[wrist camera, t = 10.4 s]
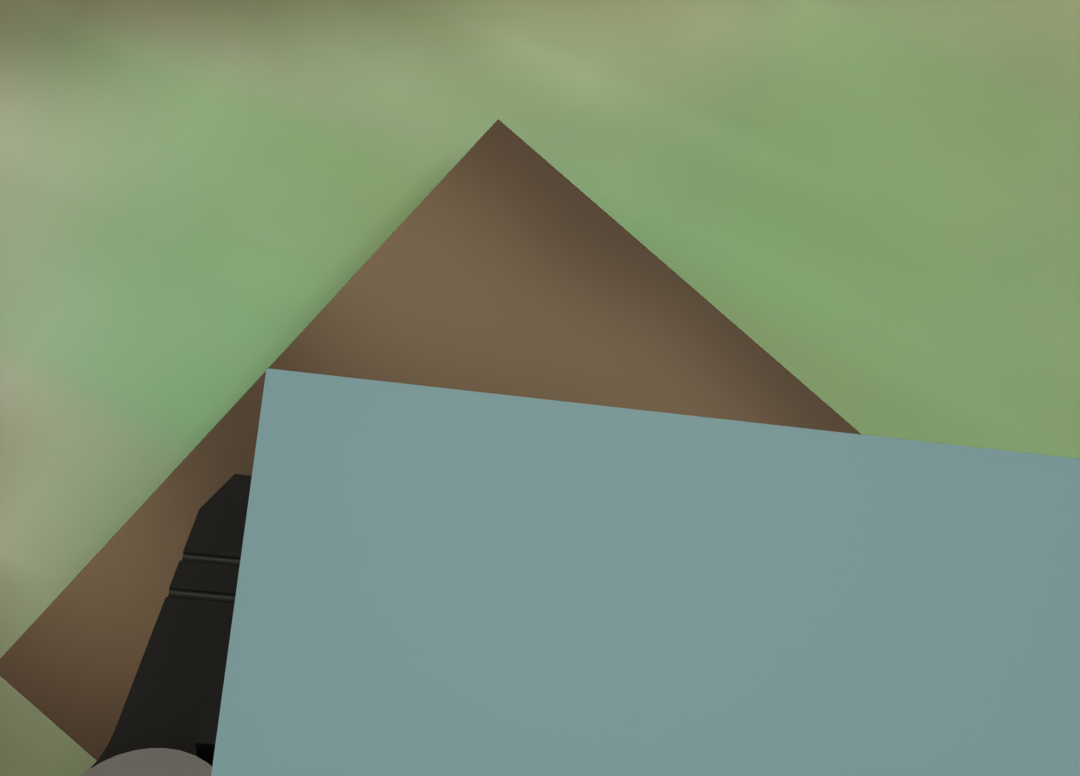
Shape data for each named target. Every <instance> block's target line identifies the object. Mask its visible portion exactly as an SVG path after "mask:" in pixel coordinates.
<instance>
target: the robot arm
mask: <svg viewBox="0 0 1080 776" xmlns="http://www.w3.org/2000/svg"><path fill="white" fill-rule="evenodd" d="M251 479H252V476H251V475H241V474H234V475H233V476H232V477H231V478H230V479H229V480H228V481H227V482H226V483H225V484H224V485H223V486H222V487H221V488H220V489H219V490H218V491H217V492H216V493H215V494H214V495H213V496H212V497H211V498H210V499H209V500H208V501H207V502H206V503H205V504H204V505H203V506H202V507H201V508H200V509H199V511H198V514H197V516H196V519H195V522H194V524H193V527H192V529H191V532H190V535H189V537H188V540H187V542H186V545H185V548H184V550H183V557H182V561H179V563H178V566H177V569H176V571H175V574H174V576H173V579H172V582H171V584H170V587H169V595H168V597H165V600H164V603H163V605H162V608H161V610H160V613H159V616H158V618H157V621H156V623H155V626H154V629H153V631H152V634H151V637H150V639H149V642H148V644H147V647H146V650H145V652H144V655H143V657H142V660H141V663H140V665H139V668H138V670H137V673H136V676H135V678H134V681H133V684H132V686H131V689H130V691H129V694H128V697H127V699H126V702H125V704H124V707H123V710H122V712H121V715H120V718H119V720H118V723H117V725H116V728H115V731H114V733H113V735H112V737H111V739H110V741H109V743H108V745H107V747H106V749H105V750H104V752H103V753H102V755H101V756H100V758H99V759H98V760H97V762H96V763H95V764H94V765H93V766H92V767H91V768H90V769H89V770H88V771H86V772H85V773H83V774H82V775H81V776H211V773H212V766H213V758H214V751H215V744H216V736H217V729H218V722H219V714H220V707H221V700H222V692H223V685H224V677H225V670H226V663H227V655H228V648H229V641H230V633H231V626H232V619H233V611H234V604H235V596H236V589H237V582H238V574H239V567H240V560H241V552H242V545H243V537H244V530H245V523H246V515H247V508H248V501H249V493H250V486H251Z"/></svg>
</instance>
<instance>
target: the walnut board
mask: <svg viewBox="0 0 1080 776" xmlns="http://www.w3.org/2000/svg"><path fill="white" fill-rule="evenodd" d="M269 369H277V370H286V371H295V372H304V373H313V374H322V375H331V376H340V377H349V378H358V379H367V380H376V381H385V382H394V383H403V384H412V385H421V386H430V387H439V388H448V389H457V390H466V391H475V392H484V393H493V394H502V395H511V396H519V397H528V398H537V399H546V400H555V401H564V402H573V403H582V404H591V405H600V406H609V407H618V408H627V409H636V410H645V411H654V412H663V413H672V414H681V415H690V416H699V417H708V418H717V419H726V420H735V421H744V422H753V423H761V424H770V425H779V426H788V427H797V428H806V429H815V430H824V431H833V432H842V433H851V434H860V433H859V432H858V431H857V430H856V429H855V428H853V427H852V426H851V425H850V424H849V423H848V422H846V421H845V420H844V419H843V418H842V417H841V416H840V415H838V414H837V413H836V412H835V411H834V410H833V409H832V408H830V407H829V406H828V405H827V404H826V403H825V402H823V401H822V400H821V399H820V398H819V397H818V396H817V395H815V394H814V393H813V392H812V391H811V390H810V389H808V388H807V387H806V386H805V385H804V384H803V383H802V382H800V381H799V380H798V379H797V378H796V377H795V376H793V375H792V374H791V373H790V372H789V371H788V370H787V369H785V368H784V367H783V366H782V365H781V364H780V363H779V362H777V361H776V360H775V359H774V358H773V357H772V356H770V355H769V354H768V353H767V352H766V351H765V350H764V349H762V348H761V347H760V346H759V345H758V344H757V343H755V342H754V341H753V340H752V339H751V338H750V337H749V336H747V335H746V334H745V333H744V332H743V331H742V330H740V329H739V328H738V327H737V326H736V325H735V324H734V323H732V322H731V321H730V320H729V319H728V318H727V317H725V316H724V315H723V314H722V313H721V312H720V311H719V310H717V309H716V308H715V307H714V306H713V305H712V304H711V303H709V302H708V301H707V300H706V299H705V298H704V297H702V296H701V295H700V294H699V293H698V292H697V291H696V290H694V289H693V288H692V287H691V286H690V285H689V284H687V283H686V282H685V281H684V280H683V279H682V278H681V277H679V276H678V275H677V274H676V273H675V272H674V271H672V270H671V269H670V268H669V267H668V266H667V265H666V264H664V263H663V262H662V261H661V260H660V259H659V258H658V257H656V256H655V255H654V254H653V253H652V252H651V251H649V250H648V249H647V248H646V247H645V246H644V245H643V244H641V243H640V242H639V241H638V240H637V239H636V238H634V237H633V236H632V235H631V234H630V233H629V232H628V231H626V230H625V229H624V228H623V227H622V226H621V225H619V224H618V223H617V222H616V221H615V220H614V219H613V218H611V217H610V216H609V215H608V214H607V213H606V212H604V211H603V210H602V209H601V208H600V207H599V206H598V205H596V204H595V203H594V202H593V201H592V200H591V199H590V198H588V197H587V196H586V195H585V194H584V193H583V192H581V191H580V190H579V189H578V188H577V187H576V186H575V185H573V184H572V183H571V182H570V181H569V180H568V179H566V178H565V177H564V176H563V175H562V174H561V173H560V172H558V171H557V170H556V169H555V168H554V167H553V166H551V165H550V164H549V163H548V162H547V161H546V160H545V159H543V158H542V157H541V156H540V155H539V154H538V153H537V152H535V151H534V150H533V149H532V148H531V147H530V146H528V145H527V144H526V143H525V142H524V141H523V140H522V139H520V138H519V137H518V136H517V135H516V134H515V133H513V132H512V131H511V130H510V129H509V128H508V127H507V126H505V125H504V124H503V123H502V122H501V121H500V120H497V121H496V122H495V123H494V124H493V125H492V127H491V128H490V129H489V130H488V131H487V132H486V133H485V134H484V135H483V136H482V137H481V138H480V140H479V141H478V142H477V143H476V144H475V145H474V146H473V147H472V148H471V149H470V150H469V151H468V153H467V154H466V155H465V156H464V157H463V158H462V159H461V160H460V161H459V162H458V163H457V164H456V166H455V167H454V168H453V169H452V170H451V171H450V172H449V173H448V174H447V175H446V176H445V178H444V179H443V180H442V181H441V182H440V183H439V184H438V185H437V186H436V187H435V188H434V189H433V191H432V192H431V193H430V194H429V195H428V196H427V197H426V198H425V199H424V200H423V201H422V202H421V204H420V205H419V206H418V207H417V208H416V209H415V210H414V211H413V212H412V213H411V214H410V215H409V217H408V218H407V219H406V220H405V221H404V222H403V223H402V224H401V225H400V226H399V227H398V228H397V230H396V231H395V232H394V233H393V234H392V235H391V236H390V237H389V238H388V239H387V240H386V241H385V243H384V244H383V245H382V246H381V247H380V248H379V249H378V250H377V251H376V252H375V253H374V254H373V256H372V257H371V258H370V259H369V260H368V261H367V262H366V263H365V264H364V265H363V266H362V267H361V269H360V270H359V271H358V272H357V273H356V274H355V275H354V276H353V277H352V278H351V279H350V280H349V282H348V283H347V284H346V285H345V286H344V287H343V288H342V289H341V290H340V291H339V292H338V294H337V295H336V296H335V297H334V298H333V299H332V300H331V301H330V302H329V303H328V304H327V305H326V307H325V308H324V309H323V310H322V311H321V312H320V313H319V314H318V315H317V316H316V317H315V318H314V320H313V321H312V322H311V323H310V324H309V325H308V326H307V327H306V328H305V329H304V330H303V331H302V333H301V334H300V335H299V336H298V337H297V338H296V339H295V340H294V341H293V342H292V343H291V344H290V346H289V347H288V348H287V349H286V350H285V351H284V352H283V353H282V354H281V355H280V356H279V357H278V359H277V360H276V361H275V362H274V363H273V364H272V365H271V366H270V367H269ZM265 376H266V372H265V373H264V374H263V375H262V376H261V377H260V378H259V379H258V380H257V381H256V382H255V383H254V385H253V386H252V387H251V388H250V389H249V390H248V391H247V392H246V393H245V394H244V395H243V396H242V398H241V399H240V400H239V401H238V402H237V403H236V404H235V405H234V406H233V407H232V408H231V410H230V411H229V412H228V413H227V414H226V415H225V416H224V417H223V418H222V419H221V420H220V421H219V423H218V424H217V425H216V426H215V427H214V428H213V429H212V430H211V431H210V432H209V433H208V434H207V436H206V437H205V438H204V439H203V440H202V441H201V442H200V443H199V444H198V445H197V446H196V447H195V449H194V450H193V451H192V452H191V453H190V454H189V455H188V456H187V457H186V458H185V459H184V460H183V462H182V463H181V464H180V465H179V466H178V467H177V468H176V469H175V470H174V471H173V472H172V473H171V475H170V476H169V477H168V478H167V479H166V480H165V481H164V482H163V483H162V484H161V485H160V486H159V488H158V489H157V490H156V491H155V492H154V493H153V494H152V495H151V496H150V497H149V498H148V499H147V501H146V502H145V503H144V504H143V505H142V506H141V507H140V508H139V509H138V510H137V511H136V512H135V514H134V515H133V516H132V517H131V518H130V519H129V520H128V521H127V522H126V523H125V524H124V526H123V527H122V528H121V529H120V530H119V531H118V532H117V533H116V534H115V535H114V536H113V537H112V539H111V540H110V541H109V542H108V543H107V544H106V545H105V546H104V547H103V548H102V549H101V550H100V552H99V553H98V554H97V555H96V556H95V557H94V558H93V559H92V560H91V561H90V562H89V563H88V565H87V566H86V567H85V568H84V569H83V570H82V571H81V572H80V573H79V574H78V575H77V576H76V578H75V579H74V580H73V581H72V582H71V583H70V584H69V585H68V586H67V587H66V588H65V589H64V591H63V592H62V593H61V594H60V595H59V596H58V597H57V598H56V599H55V600H54V601H53V602H52V604H51V605H50V606H49V607H48V608H47V609H46V610H45V611H44V612H43V613H42V614H41V615H40V617H39V618H38V619H37V620H36V621H35V622H34V623H33V624H32V625H31V626H30V627H29V628H28V630H27V631H26V632H25V633H24V634H23V635H22V636H21V637H20V638H19V639H18V640H17V642H16V643H15V644H14V645H13V646H12V647H11V648H10V649H9V650H8V651H7V652H6V653H5V655H4V656H3V657H2V658H1V659H0V676H1V677H2V678H3V679H5V680H6V681H7V682H8V683H9V684H10V685H11V686H13V687H14V688H15V689H16V690H17V691H18V692H19V693H21V694H22V695H23V696H24V697H25V698H26V699H27V700H29V701H30V702H31V703H32V704H33V705H34V706H35V707H36V708H38V709H39V710H40V711H41V712H42V713H43V714H44V715H46V716H47V717H48V718H49V719H50V720H51V721H52V722H54V723H55V724H56V725H57V726H58V727H59V728H60V729H62V730H63V731H64V732H65V733H66V734H67V735H68V736H70V737H71V738H72V739H73V740H74V741H75V742H76V743H77V744H79V745H80V746H81V747H82V748H83V749H84V750H85V751H87V752H88V753H89V754H90V755H91V756H92V757H93V758H95V759H96V760H98V759H99V758H100V756H101V755H102V753H103V752H104V750H105V749H106V747H107V745H108V743H109V741H110V739H111V737H112V735H113V733H114V731H115V728H116V725H117V723H118V720H119V718H120V715H121V712H122V710H123V707H124V704H125V702H126V699H127V697H128V694H129V691H130V689H131V686H132V684H133V681H134V678H135V676H136V673H137V670H138V668H139V665H140V663H141V660H142V657H143V655H144V652H145V650H146V647H147V644H148V642H149V639H150V637H151V634H152V631H153V629H154V626H155V623H156V621H157V618H158V616H159V613H160V610H161V608H162V605H163V603H164V600H165V597H168V595H169V587H170V584H171V582H172V579H173V576H174V574H175V571H176V569H177V566H178V563H179V561H182V557H183V550H184V548H185V545H186V542H187V540H188V537H189V535H190V532H191V529H192V527H193V524H194V522H195V519H196V516H197V514H198V511H199V509H200V508H201V507H202V506H203V505H204V504H205V503H206V502H207V501H208V500H209V499H210V498H211V497H212V496H213V495H214V494H215V493H216V492H217V491H218V490H219V489H220V488H221V487H222V486H223V485H224V484H225V483H226V482H227V481H228V480H229V479H230V478H231V477H232V476H233V475H234V474H241V475H251V476H252V471H253V464H254V457H255V449H256V442H257V434H258V427H259V420H260V412H261V405H262V398H263V390H264V383H265ZM860 435H861V434H860Z"/></svg>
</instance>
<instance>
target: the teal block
mask: <svg viewBox="0 0 1080 776" xmlns="http://www.w3.org/2000/svg"><path fill="white" fill-rule="evenodd" d="M211 776H1080V459H1075V458H1066V457H1057V456H1048V455H1039V454H1030V453H1021V452H1012V451H1003V450H995V449H986V448H977V447H968V446H959V445H950V444H941V443H932V442H923V441H914V440H905V439H896V438H887V437H878V436H869V435H860V434H851V433H842V432H833V431H824V430H815V429H806V428H797V427H788V426H779V425H770V424H761V423H753V422H744V421H735V420H726V419H717V418H708V417H699V416H690V415H681V414H672V413H663V412H654V411H645V410H636V409H627V408H618V407H609V406H600V405H591V404H582V403H573V402H564V401H555V400H546V399H537V398H528V397H519V396H511V395H502V394H493V393H484V392H475V391H466V390H457V389H448V388H439V387H430V386H421V385H412V384H403V383H394V382H385V381H376V380H367V379H358V378H349V377H340V376H331V375H322V374H313V373H304V372H295V371H286V370H277V369H269V368H266V376H265V383H264V390H263V398H262V405H261V412H260V420H259V427H258V434H257V442H256V449H255V457H254V464H253V471H252V479H251V486H250V493H249V501H248V508H247V515H246V523H245V530H244V537H243V545H242V552H241V560H240V567H239V574H238V582H237V589H236V596H235V604H234V611H233V619H232V626H231V633H230V641H229V648H228V655H227V663H226V670H225V677H224V685H223V692H222V700H221V707H220V714H219V722H218V729H217V736H216V744H215V751H214V758H213V766H212V773H211Z"/></svg>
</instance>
